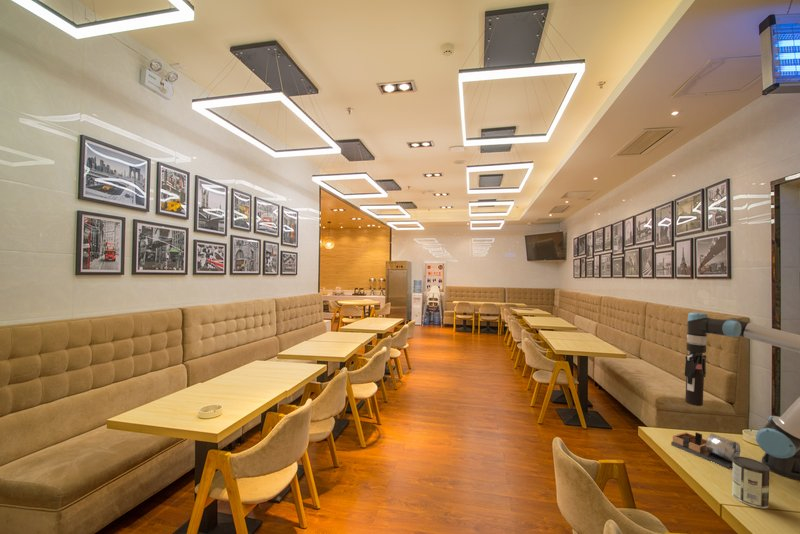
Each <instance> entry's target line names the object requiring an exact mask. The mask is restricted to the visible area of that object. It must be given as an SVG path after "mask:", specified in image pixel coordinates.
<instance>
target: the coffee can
mask: <svg viewBox="0 0 800 534" xmlns="http://www.w3.org/2000/svg"><path fill="white" fill-rule="evenodd" d="M732 460H733V468H732V476H731V477H732V478H731V479H732V481H731V496H732V497H733V498H734V499H735V500H737V501H739V502H741V503H742V504H745V505H747V506H750V507H752V508H753V507H754V508H757V509H763V510H765V509H769V507H770V505H769V504H770V503H769V502H770V501H769V500H770V497H769V496H770V472H771V471H770V468H769V467H768V466H767V465H765V464H763V463H762V461H759V460H756V459H754V458H750V457H744V456H735V457H733V458H732Z"/></svg>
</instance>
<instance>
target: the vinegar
mask: <svg viewBox="0 0 800 534" xmlns="http://www.w3.org/2000/svg"><path fill="white" fill-rule="evenodd" d="M701 370H702V364H698V365H696V369H695V373H694V377H693V378H695V383H694V392H693V391H690V390H687V377H686V376H685V396H684V397H685V403H686V404H688V405H691V406H697V407H702V406H704V384H705V377H704V375H703V374H702V372H701Z"/></svg>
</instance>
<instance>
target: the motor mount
mask: <svg viewBox="0 0 800 534" xmlns="http://www.w3.org/2000/svg"><path fill="white" fill-rule="evenodd" d="M670 444H671V446H673V447H675V448H678V449H681V450H683V451H685V452H687V453H690V454H692V455H695V456H697V457H699V458H701V457H702V459H703V460H706V459H707V460H706V461H709V462H711V461H712V463H713V462H715V463H714V464H716V463H717V464H716V465H718V464H719V465H718V466H720V465H721V467H723V466H724V467H723V468H725V467H726V468H725V469H728V468H730V469H733V468H732V467H733V460H732V458H733V457H735V456H740V455H741V446H740V443H739V442H737V441H734V440H732V439H729V438H725V437H724V436H720V435H718V434H715V433H710V434H709V435H708V437H707V439H704V438H703V434H702V433H699V432H695V433H694V435H693V434H691V433H688V432H682V433H679V434H675V435H672V441H671V443H670ZM740 457H741V456H740Z"/></svg>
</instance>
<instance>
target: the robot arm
mask: <svg viewBox="0 0 800 534" xmlns="http://www.w3.org/2000/svg"><path fill="white" fill-rule="evenodd" d="M686 322H687V323H686V324H687V326H686V327H687V329H686V330H687V331H686V332H687V333H686V334H687V335H686V341H687V343H686V351H688V352H689V354H688V355H685V363H684V365H685V367H684V377H685V378H686V377H687V390H690V391H693V392H694V383H695V378H693V377H694V373H695V369H696V365H698V364H702V370H701V372H702V374H703V375H704V378H706V375H707V373H706V372H707V368H706V367H707V366H706V362H707V355H706V354H705V353H707V343H708V342H707V341H708V340H707V339H708V338H707V336H708V334H711V335H718V336H725V337H729V338H730V337H732V338H739V337H741V338H746V339H749V340H753V341H757V342H761V343H763V344H766V345H769V346H773V347H777V348H780V349H785V350H788V351H792V352H796V353H799V354H800V334H797V333H792V332H788V331H784V330H780V329H777V328H772V327H768V326H764V325H761V324H757V323H756V324H755V323H751V322H748V321H745V320H742V319H740V318H735V317H732V318H731V317H730V318H723V319H722V318H721V319H720V318H713V317H712V318H710V317H708V313H705V312H694V311H693V312H688V314H687V320H686ZM755 441H756V443H757V446H759V448H760V449H761V450H762V451H763V452H764V454H763V455H762V457H761V463H763V464H765V465H767V466H768V467H769V468H770V472H772V473H775V474H777V475H779V476H782V477H785V478H789V479H793V480H797V481H800V396H799V397H798V398H797V399H796V400H795V401H794V402H792V404H791V405H790V406H789V407H788V408H787V409H786V411H784V413H782V415H781V416H777V415H769V417H768V419H767V423H766V424H765V425H764V426H763V427H762V428H761V429H758V430H757V432H756V434H755Z"/></svg>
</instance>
